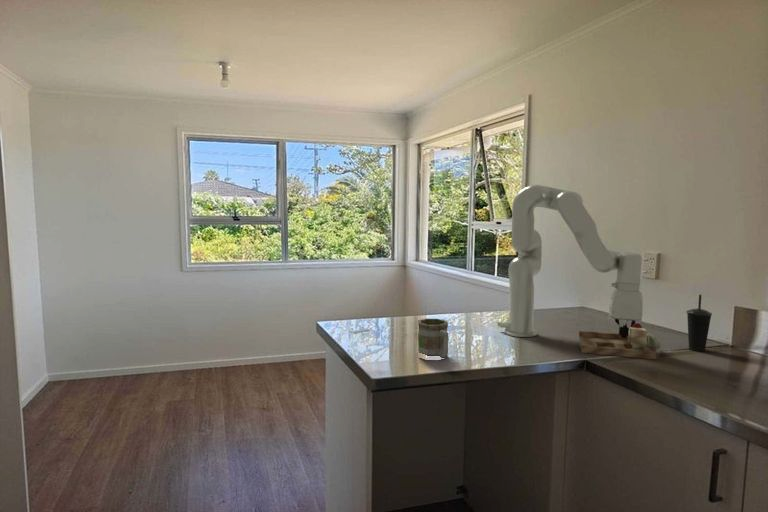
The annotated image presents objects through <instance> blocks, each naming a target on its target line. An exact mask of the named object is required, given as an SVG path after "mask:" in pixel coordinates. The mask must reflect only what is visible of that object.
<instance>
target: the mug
mask: <svg viewBox="0 0 768 512" xmlns="http://www.w3.org/2000/svg"><path fill="white" fill-rule="evenodd" d="M417 324H418V326H417V327H418V334H417V342H418V344H417V345H418V346H417V347H418V349H417V350H418V351H419V353H422V354H425V355H427V356H440V357H441V358H446V357H448V355H449V340H450V339H449V338H450V337H449V333H448V327H449V323H448V320H445V319H441V318H424V319H419V320H417ZM418 351H417V352H418ZM446 359H447V358H446Z"/></svg>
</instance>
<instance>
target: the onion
mask: <svg viewBox="0 0 768 512" xmlns="http://www.w3.org/2000/svg"><path fill="white" fill-rule="evenodd" d="M630 327H632V328H643V326H642V324H641V323H635V324H633V325H632V326H630Z"/></svg>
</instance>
